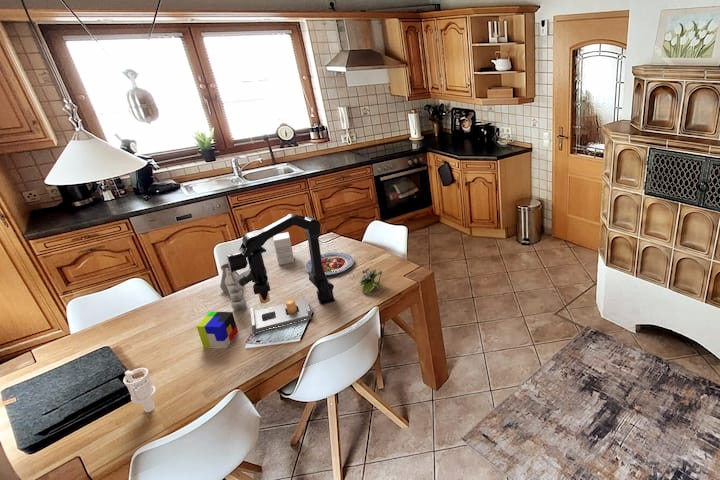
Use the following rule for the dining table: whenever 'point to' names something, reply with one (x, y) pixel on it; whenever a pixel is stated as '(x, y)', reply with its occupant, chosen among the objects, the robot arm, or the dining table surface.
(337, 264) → the ceramic plate
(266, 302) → the orange rounded plug
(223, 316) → the puzzle toy
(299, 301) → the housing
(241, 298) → the plastic bottle
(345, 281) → the dining table surface
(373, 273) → the green leafy clump
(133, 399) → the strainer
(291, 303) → the orange tapered peg
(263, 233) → the robot arm
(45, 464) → the dining table surface
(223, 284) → the coffee pot
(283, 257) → the supplement box
